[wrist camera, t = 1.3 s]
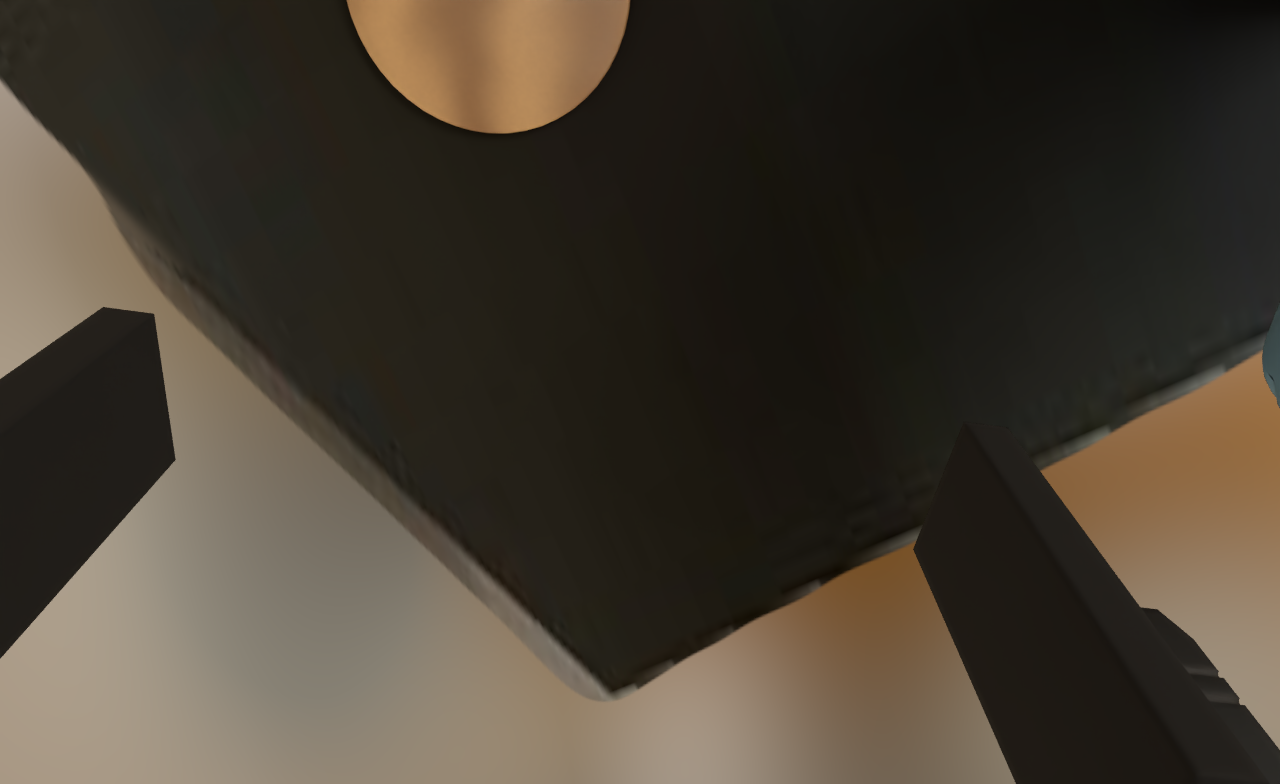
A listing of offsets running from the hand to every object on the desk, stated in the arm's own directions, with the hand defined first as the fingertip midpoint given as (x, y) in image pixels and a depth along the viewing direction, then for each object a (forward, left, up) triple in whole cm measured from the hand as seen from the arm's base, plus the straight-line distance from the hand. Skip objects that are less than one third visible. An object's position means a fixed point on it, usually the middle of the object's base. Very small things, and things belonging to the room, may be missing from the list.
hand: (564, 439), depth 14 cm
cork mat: (+7, -5, -30) cm, 31 cm away
